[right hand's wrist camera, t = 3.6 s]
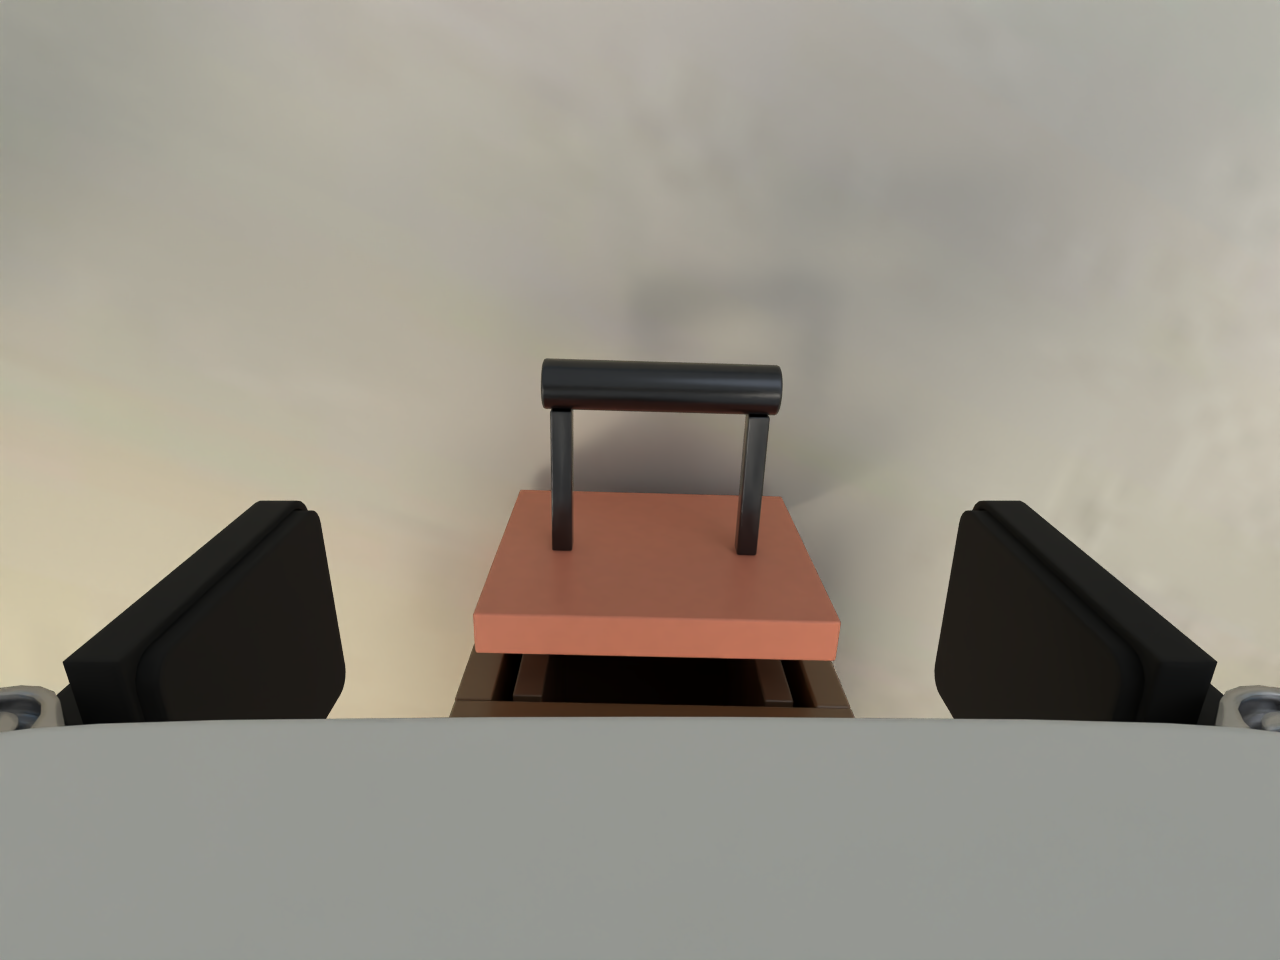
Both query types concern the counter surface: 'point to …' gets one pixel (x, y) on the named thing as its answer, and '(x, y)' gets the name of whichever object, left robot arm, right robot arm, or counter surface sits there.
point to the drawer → (655, 561)
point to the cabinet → (497, 673)
